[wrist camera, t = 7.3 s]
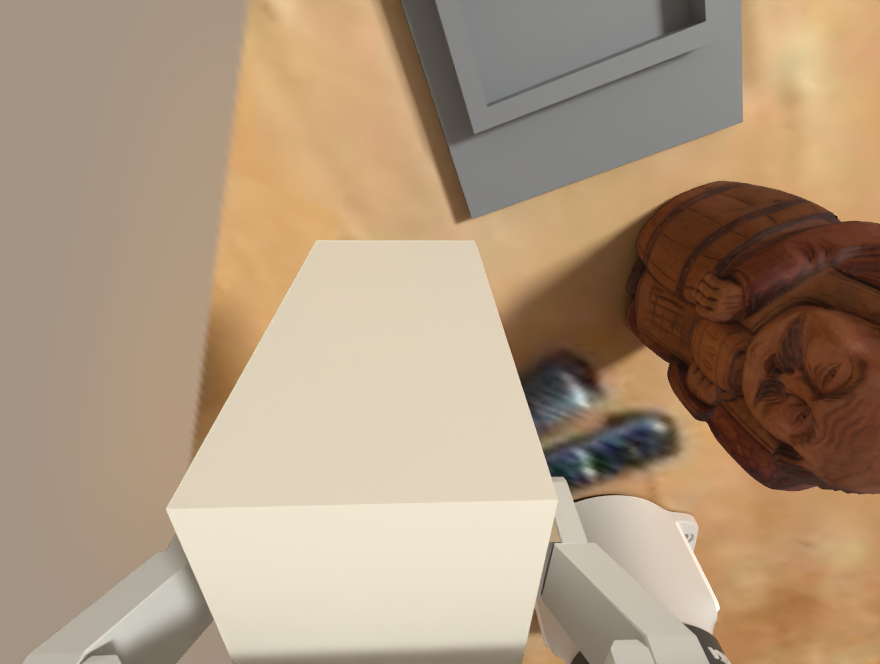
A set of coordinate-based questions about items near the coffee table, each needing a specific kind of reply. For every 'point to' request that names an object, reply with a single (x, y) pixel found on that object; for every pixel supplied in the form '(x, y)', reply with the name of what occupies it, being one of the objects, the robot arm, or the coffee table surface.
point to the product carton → (373, 471)
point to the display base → (573, 85)
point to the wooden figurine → (768, 330)
